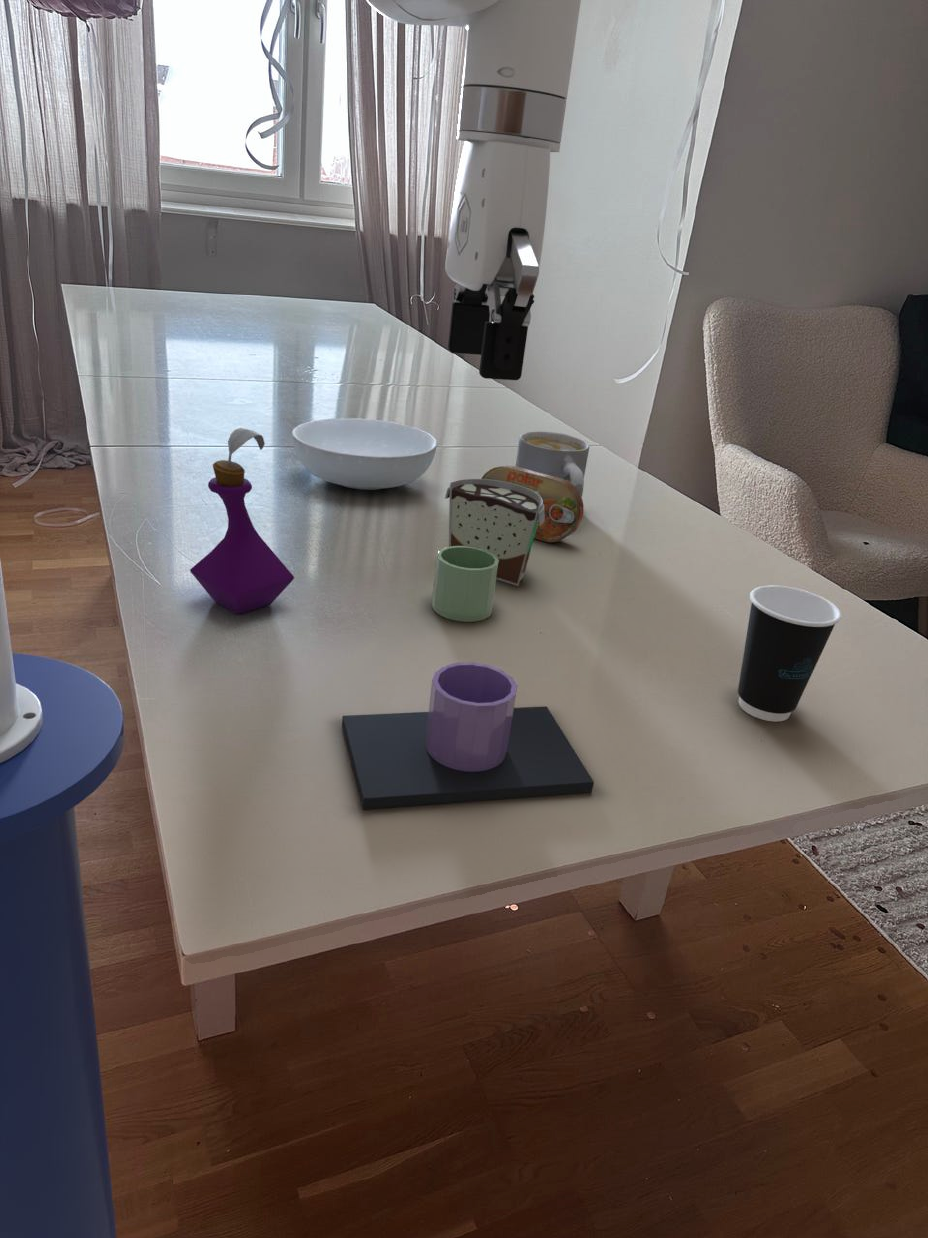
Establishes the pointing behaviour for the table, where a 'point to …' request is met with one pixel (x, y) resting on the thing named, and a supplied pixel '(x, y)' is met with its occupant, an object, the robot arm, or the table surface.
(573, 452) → the coffee mug
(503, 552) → the food container
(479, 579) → the sage cup
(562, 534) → the tin
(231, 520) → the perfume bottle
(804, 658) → the dixie cup
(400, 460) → the serving bowl
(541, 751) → the placemat
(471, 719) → the lavender cup
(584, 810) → the table surface
